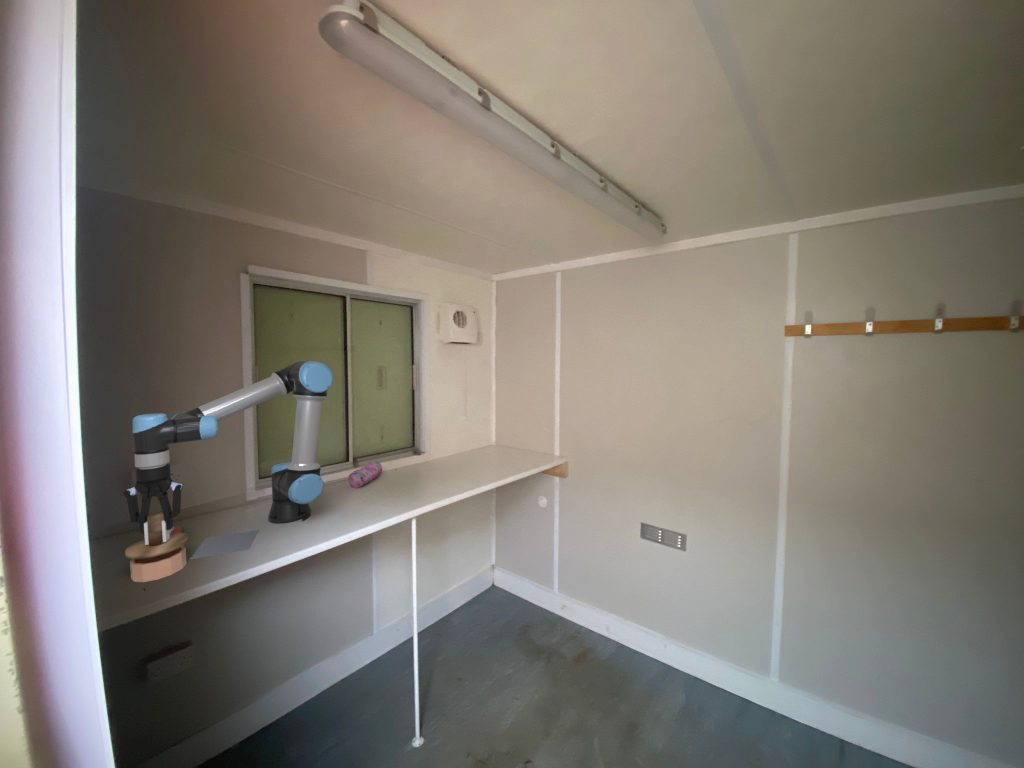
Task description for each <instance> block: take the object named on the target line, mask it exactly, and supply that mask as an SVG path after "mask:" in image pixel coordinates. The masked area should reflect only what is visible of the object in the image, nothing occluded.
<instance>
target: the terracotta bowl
mask: <svg viewBox="0 0 1024 768" xmlns="http://www.w3.org/2000/svg"><path fill="white" fill-rule="evenodd" d="M186 564H187V549H186V547H185V545H184V546H182V547H180V548H178V549H176V550H174V551H171V552H169V553H166V554H162V555H159V556H155V557H150V558H143V559H130V560H129V568H130V579H131V580H132V582H135V583H145V582H146V583H147V582H151V581H158V580H161V579H164V578H166V577H168V576H172V575H174V574H176V573H177V572H179V571H181V570H182V569H184V567H185V566H186Z"/></svg>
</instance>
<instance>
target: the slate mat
mask: <svg viewBox="0 0 1024 768" xmlns="http://www.w3.org/2000/svg"><path fill="white" fill-rule="evenodd" d="M258 533H259V529H256V530H247V531H242V532H236V533H227V534H224V535H223V534H222V535H217V536H215V535H214V536H210V537H206V538H205V539H204V540H203V541H202V543H201V544H200V545H199V547H198V548H197V549H196V550H195V552H194V553H193V554H192V555H191V557H190V558H189V559H188V560H189V561H191V560H194V559H201V558H208V557H212V556H219V555H224V554H231V553H236V552H242V551H248V550H250V548H251V547H252V544H253V542H254V540H255V538H256V537H257V534H258Z"/></svg>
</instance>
